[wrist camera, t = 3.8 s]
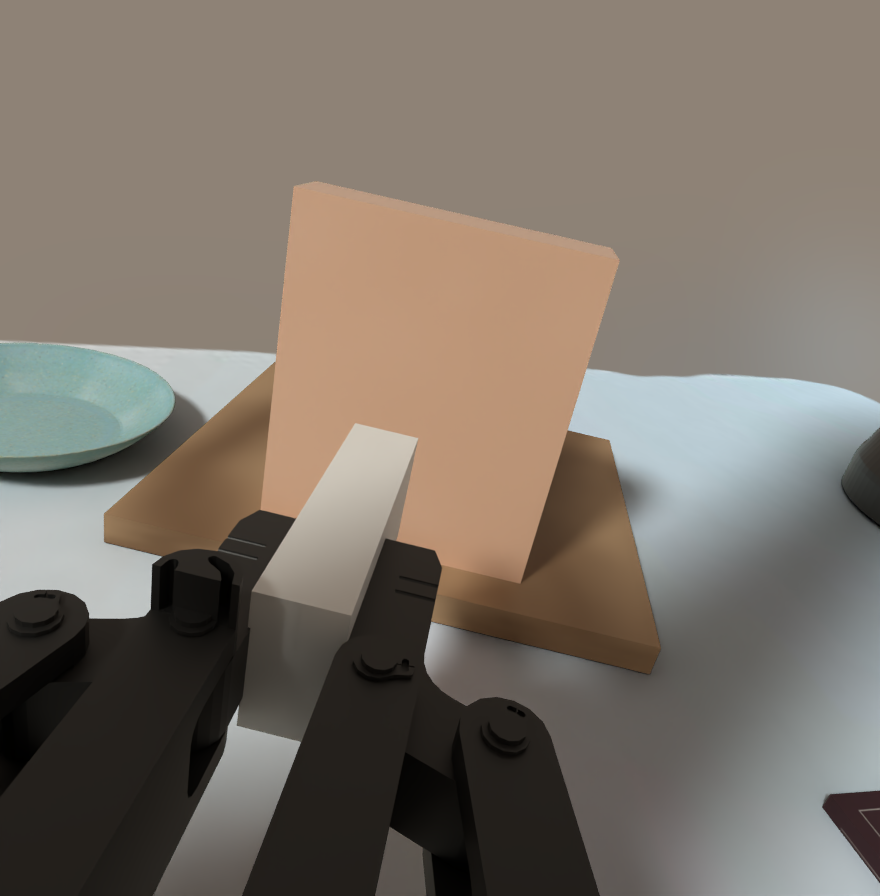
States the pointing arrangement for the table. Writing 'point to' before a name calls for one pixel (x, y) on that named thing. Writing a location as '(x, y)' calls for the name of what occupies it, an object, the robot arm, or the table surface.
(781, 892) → the table surface
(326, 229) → the tile
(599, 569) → the board
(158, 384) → the saucer
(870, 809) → the chocolate bar
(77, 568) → the table surface
